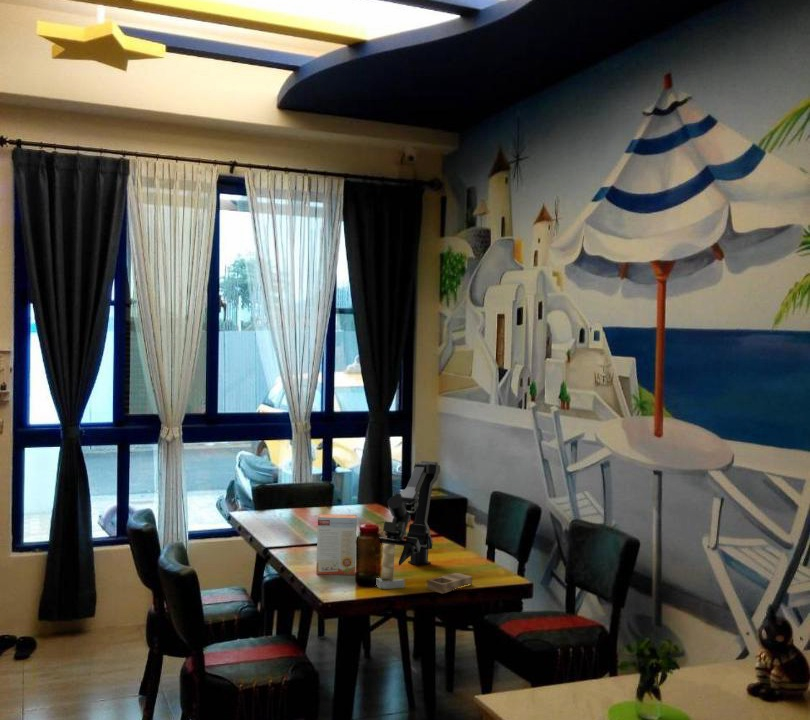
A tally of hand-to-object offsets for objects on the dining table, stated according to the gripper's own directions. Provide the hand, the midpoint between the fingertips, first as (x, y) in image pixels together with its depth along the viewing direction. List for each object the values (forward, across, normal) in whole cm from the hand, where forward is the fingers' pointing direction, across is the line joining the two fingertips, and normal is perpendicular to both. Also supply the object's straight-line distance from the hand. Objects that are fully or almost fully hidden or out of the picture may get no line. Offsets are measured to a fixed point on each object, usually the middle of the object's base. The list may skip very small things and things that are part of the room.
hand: (386, 563), depth 296 cm
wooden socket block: (-1, +20, +12) cm, 24 cm away
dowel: (+5, 0, +7) cm, 8 cm away
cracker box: (+1, -22, +11) cm, 25 cm away
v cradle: (+6, 0, +5) cm, 8 cm away
